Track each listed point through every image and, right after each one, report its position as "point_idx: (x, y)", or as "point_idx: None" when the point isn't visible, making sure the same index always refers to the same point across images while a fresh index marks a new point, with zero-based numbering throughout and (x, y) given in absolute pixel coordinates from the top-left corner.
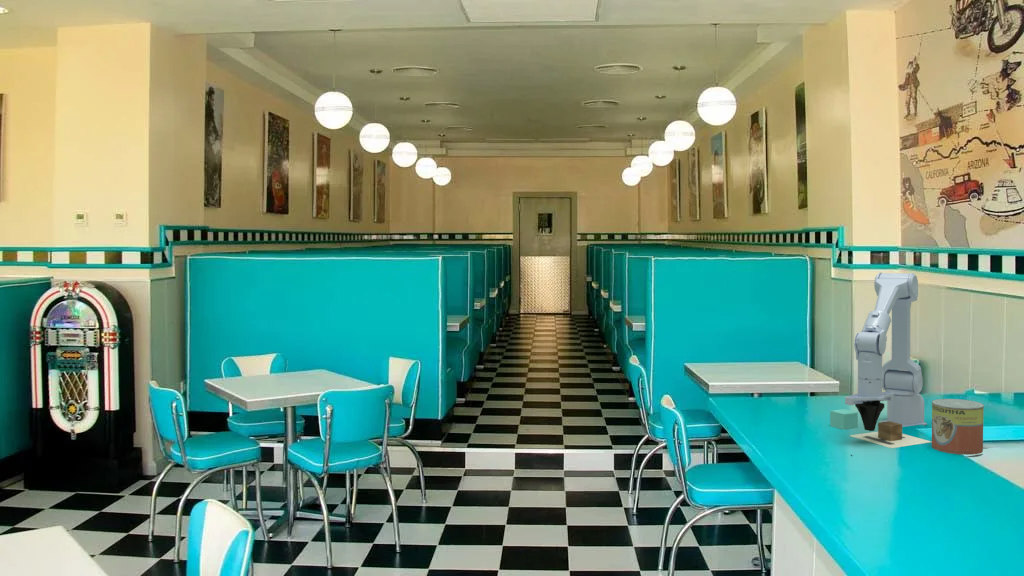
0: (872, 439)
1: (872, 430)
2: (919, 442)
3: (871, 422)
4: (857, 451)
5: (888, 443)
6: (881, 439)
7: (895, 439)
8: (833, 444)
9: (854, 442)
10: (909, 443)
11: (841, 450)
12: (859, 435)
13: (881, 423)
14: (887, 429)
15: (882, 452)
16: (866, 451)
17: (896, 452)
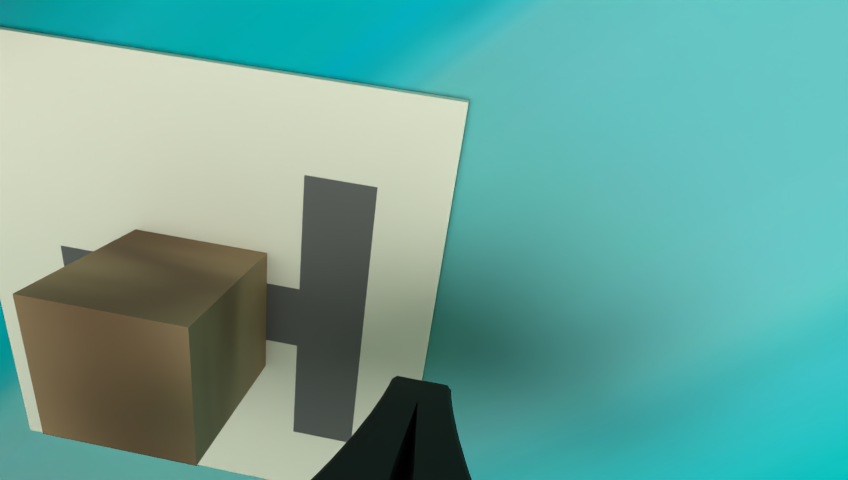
0: (349, 362)
1: (423, 382)
2: (67, 76)
3: (458, 451)
4: (746, 258)
5: (344, 218)
6: (287, 323)
7: (205, 245)
8: (668, 470)
9: (484, 414)
10: (176, 109)
11: (816, 351)
12: None
13: (191, 433)
14: (215, 336)
15: (602, 106)
16: (684, 213)
17: (492, 24)
